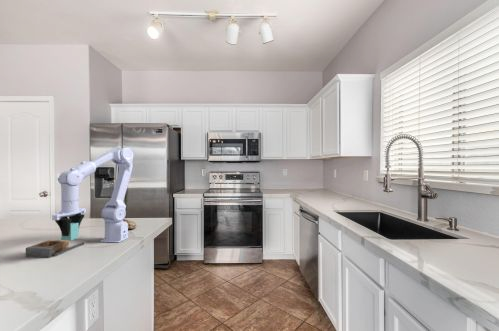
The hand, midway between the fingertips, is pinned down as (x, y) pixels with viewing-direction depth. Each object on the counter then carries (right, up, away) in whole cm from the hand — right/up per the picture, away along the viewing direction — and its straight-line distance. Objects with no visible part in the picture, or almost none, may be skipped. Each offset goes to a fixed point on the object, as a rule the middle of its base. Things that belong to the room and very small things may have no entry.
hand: (70, 234), depth 99 cm
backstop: (-8, -8, +3) cm, 12 cm away
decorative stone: (+3, -8, +40) cm, 41 cm away
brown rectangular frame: (-9, -8, +1) cm, 11 cm away
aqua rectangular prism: (0, -2, 0) cm, 2 cm away
